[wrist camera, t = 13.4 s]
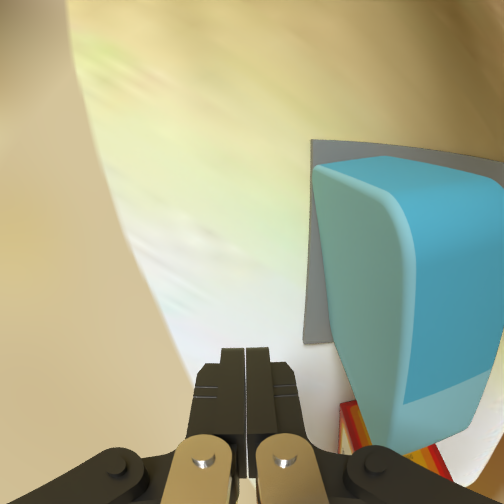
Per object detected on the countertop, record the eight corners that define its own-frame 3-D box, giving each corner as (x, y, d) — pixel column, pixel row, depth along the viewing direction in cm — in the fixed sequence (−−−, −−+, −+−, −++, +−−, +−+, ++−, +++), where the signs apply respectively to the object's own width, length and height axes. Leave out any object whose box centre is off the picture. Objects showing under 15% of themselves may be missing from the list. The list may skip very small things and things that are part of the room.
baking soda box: (392, 440, 28) (434, 553, 13) (337, 455, 29) (365, 577, 14) (405, 386, 25) (472, 524, 10) (339, 403, 25) (384, 560, 10)
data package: (387, 319, 22) (464, 441, 10) (329, 333, 22) (381, 474, 11) (378, 153, 18) (524, 185, 6) (307, 163, 18) (404, 205, 7)
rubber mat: (310, 139, 18) (312, 139, 17) (514, 165, 18) (519, 166, 18) (302, 339, 23) (303, 343, 22) (485, 317, 23) (488, 320, 22)
